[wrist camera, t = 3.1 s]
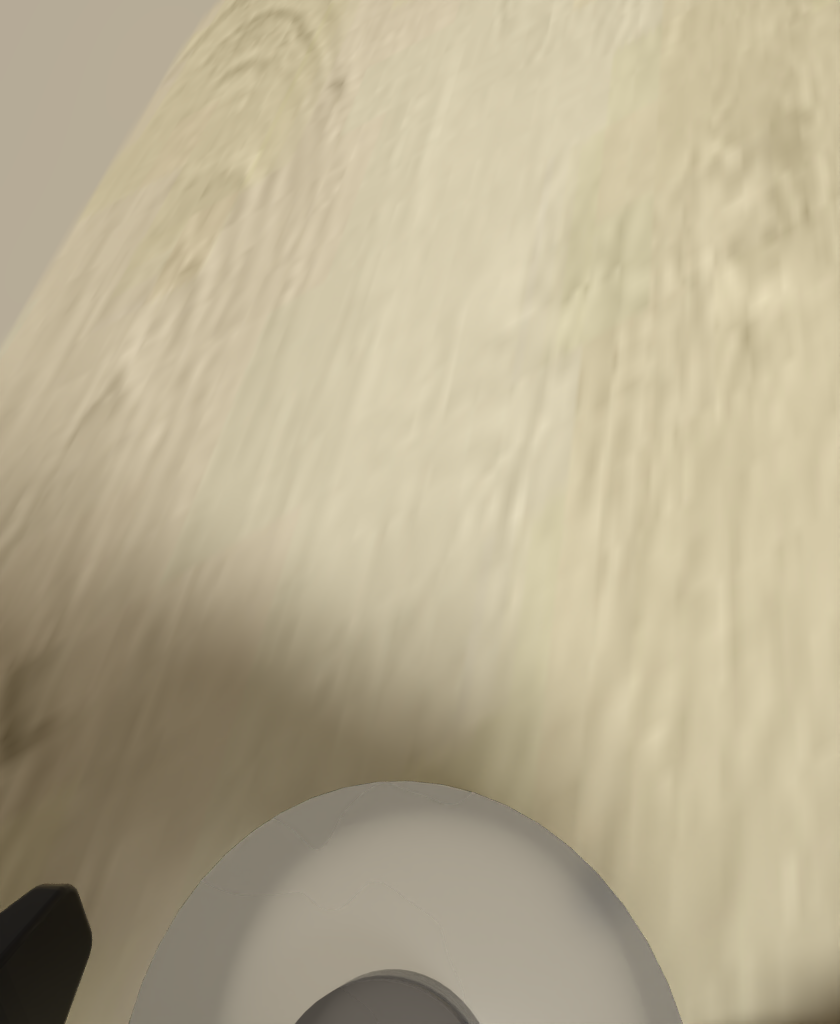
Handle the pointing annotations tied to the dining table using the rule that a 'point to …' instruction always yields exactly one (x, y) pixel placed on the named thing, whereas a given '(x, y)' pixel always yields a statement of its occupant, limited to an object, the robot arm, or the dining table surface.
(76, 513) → the dining table surface
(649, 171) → the dining table surface
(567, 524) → the dining table surface
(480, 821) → the hinge barrel
